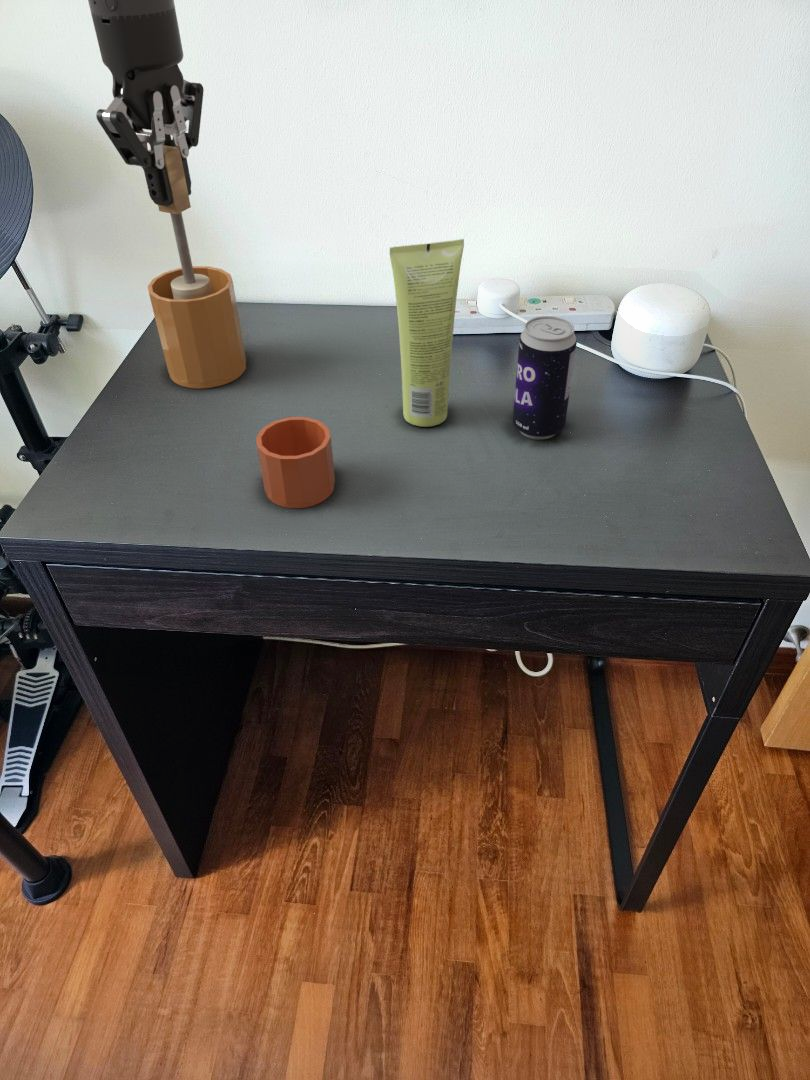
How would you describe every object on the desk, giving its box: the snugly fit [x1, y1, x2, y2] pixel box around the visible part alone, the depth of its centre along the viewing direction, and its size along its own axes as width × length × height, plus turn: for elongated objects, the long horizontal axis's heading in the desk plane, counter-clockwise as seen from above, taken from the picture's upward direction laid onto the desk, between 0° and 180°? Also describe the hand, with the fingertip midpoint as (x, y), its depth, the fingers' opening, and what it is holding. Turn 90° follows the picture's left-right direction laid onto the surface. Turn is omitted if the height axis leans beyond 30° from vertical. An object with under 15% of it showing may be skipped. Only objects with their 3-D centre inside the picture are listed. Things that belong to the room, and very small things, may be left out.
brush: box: [148, 145, 212, 300], centre depth 87 cm, size 4×4×20 cm
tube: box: [389, 238, 465, 428], centre depth 82 cm, size 6×5×20 cm
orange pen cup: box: [147, 265, 247, 390], centre depth 94 cm, size 9×9×11 cm
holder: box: [255, 416, 336, 509], centre depth 77 cm, size 7×7×6 cm
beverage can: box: [512, 315, 578, 440], centre depth 82 cm, size 6×6×12 cm
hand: (172, 199), depth 84 cm, fingers closed on brush, 2 cm apart
